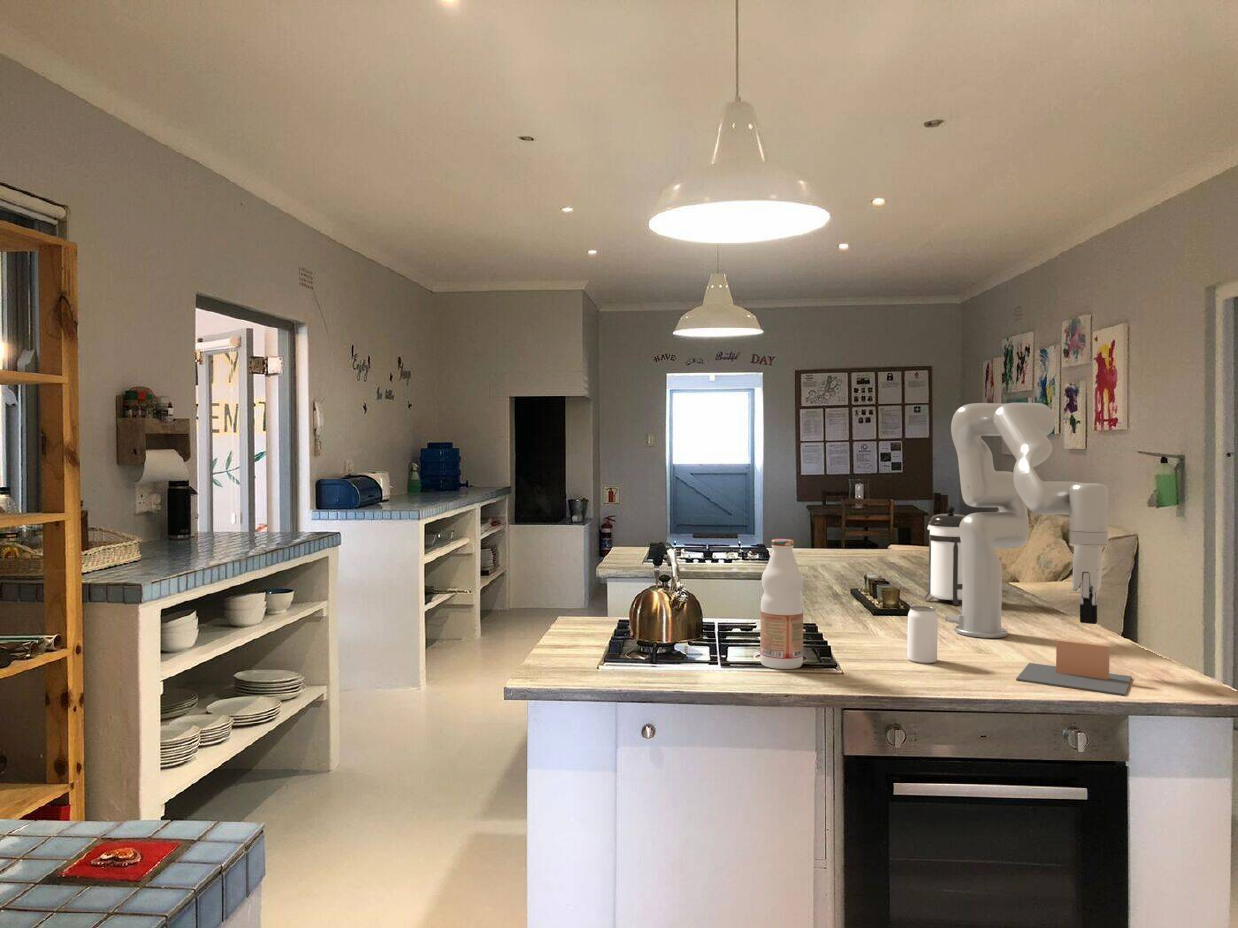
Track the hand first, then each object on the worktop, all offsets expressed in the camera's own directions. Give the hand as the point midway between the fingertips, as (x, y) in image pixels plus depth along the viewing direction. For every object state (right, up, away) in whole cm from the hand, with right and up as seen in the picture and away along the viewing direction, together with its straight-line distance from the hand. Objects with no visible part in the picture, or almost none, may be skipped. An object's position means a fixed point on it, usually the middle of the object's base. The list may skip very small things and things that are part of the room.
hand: (1088, 622), depth 196 cm
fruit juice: (-67, -10, +4) cm, 68 cm away
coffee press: (+1, -8, +82) cm, 83 cm away
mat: (-7, -11, -7) cm, 15 cm away
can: (-34, -10, +8) cm, 36 cm away
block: (-4, -10, -6) cm, 12 cm away
